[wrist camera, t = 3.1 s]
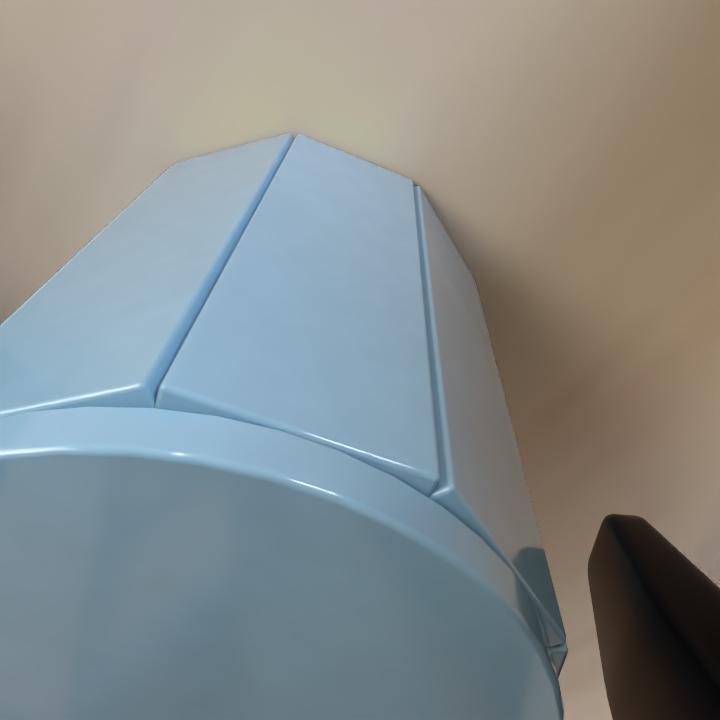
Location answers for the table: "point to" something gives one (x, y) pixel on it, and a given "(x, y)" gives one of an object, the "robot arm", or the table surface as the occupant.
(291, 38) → the table surface
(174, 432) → the cup
